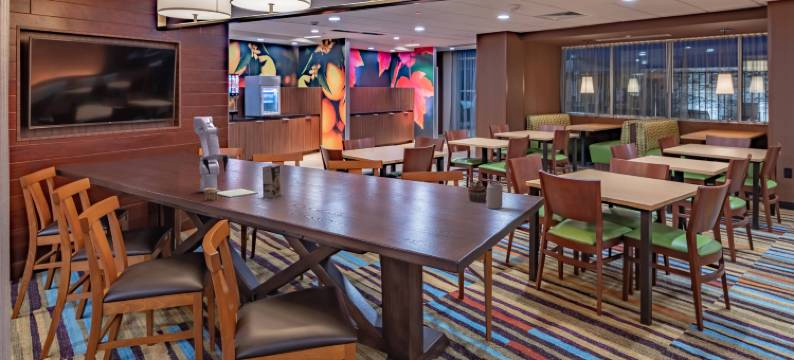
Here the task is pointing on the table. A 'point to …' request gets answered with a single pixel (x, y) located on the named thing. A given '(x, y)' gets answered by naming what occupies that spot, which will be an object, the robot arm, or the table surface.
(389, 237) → the table surface
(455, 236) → the table surface
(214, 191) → the stool
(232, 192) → the mat
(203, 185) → the robot arm
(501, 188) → the can
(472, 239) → the table surface
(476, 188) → the cupcake
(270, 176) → the coffee box
